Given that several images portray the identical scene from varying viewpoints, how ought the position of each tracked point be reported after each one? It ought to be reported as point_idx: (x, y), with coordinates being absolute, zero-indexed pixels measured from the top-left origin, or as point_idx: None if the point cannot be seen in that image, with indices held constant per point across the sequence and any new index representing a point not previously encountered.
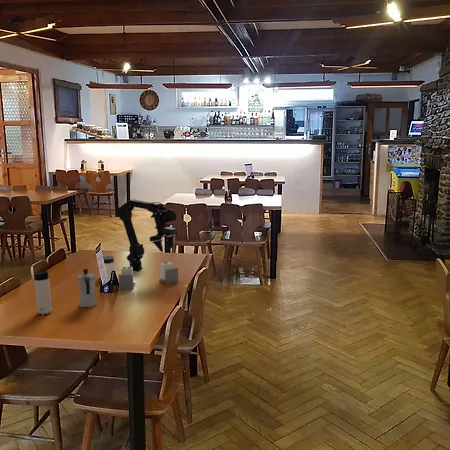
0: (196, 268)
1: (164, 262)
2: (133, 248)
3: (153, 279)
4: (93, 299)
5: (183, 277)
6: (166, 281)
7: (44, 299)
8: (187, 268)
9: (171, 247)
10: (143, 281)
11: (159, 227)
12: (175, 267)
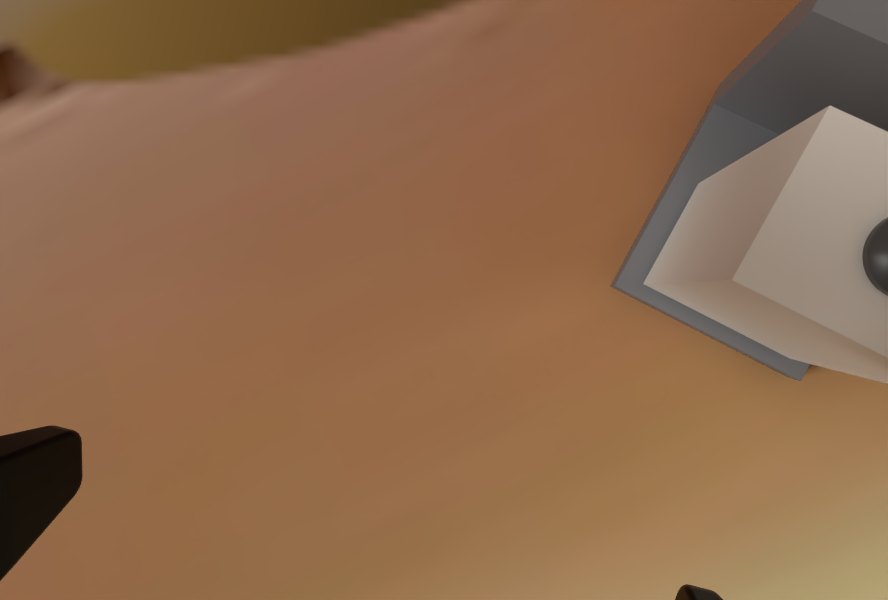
0: (68, 113)
1: (859, 327)
2: None
3: (736, 490)
4: None
5: (515, 99)
6: None
7: None
8: (101, 237)
9: (53, 471)
10: (877, 596)
11: None
12: (851, 20)
